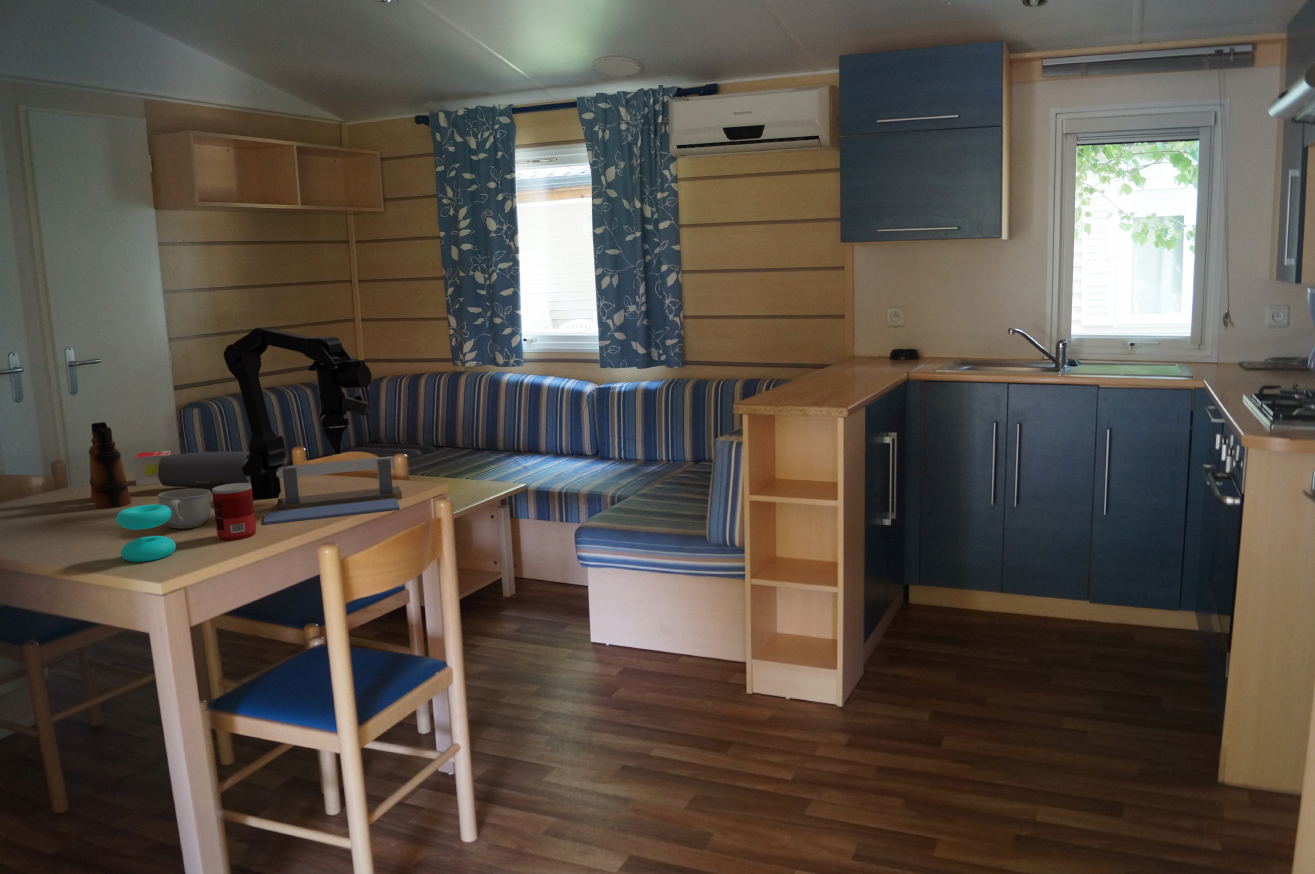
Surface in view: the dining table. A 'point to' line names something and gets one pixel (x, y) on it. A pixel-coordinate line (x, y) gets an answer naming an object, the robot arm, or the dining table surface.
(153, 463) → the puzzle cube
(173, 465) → the bluetooth speaker
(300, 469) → the rail
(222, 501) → the canned food
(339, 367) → the robot arm
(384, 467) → the stand
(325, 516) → the mat
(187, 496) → the teacup
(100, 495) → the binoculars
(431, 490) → the dining table surface
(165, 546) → the donuts
